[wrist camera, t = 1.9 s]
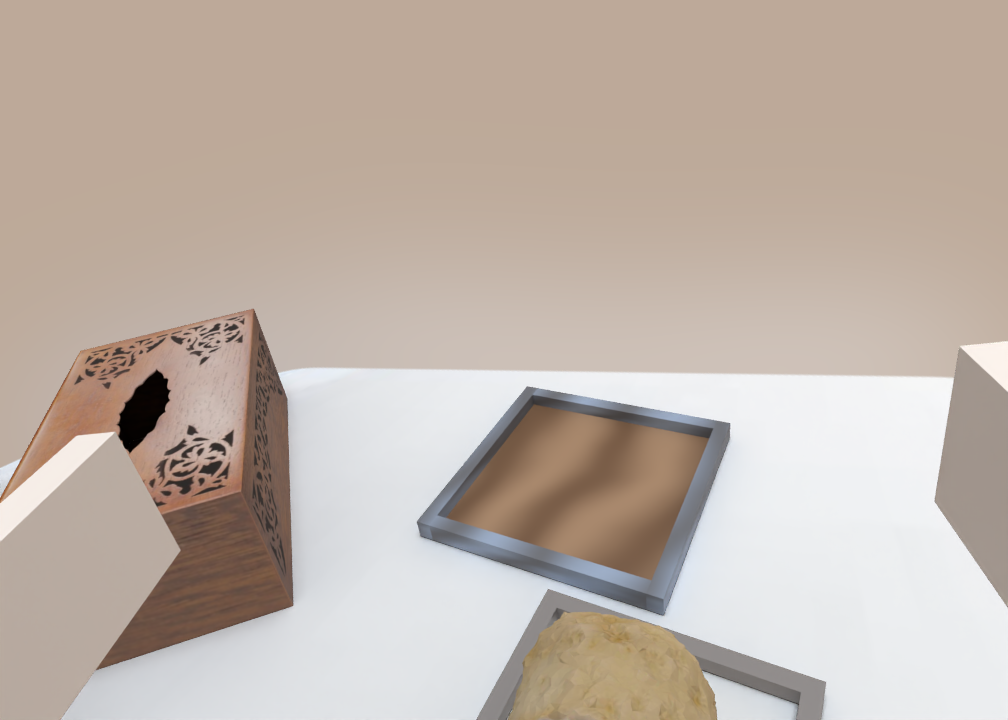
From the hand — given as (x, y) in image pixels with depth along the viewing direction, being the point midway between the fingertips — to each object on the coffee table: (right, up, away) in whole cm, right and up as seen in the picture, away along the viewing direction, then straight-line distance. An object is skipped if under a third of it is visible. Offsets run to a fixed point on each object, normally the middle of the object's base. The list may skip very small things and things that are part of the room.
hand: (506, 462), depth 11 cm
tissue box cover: (-24, -10, +41) cm, 49 cm away
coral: (+6, -18, +20) cm, 28 cm away
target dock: (+6, -7, +37) cm, 39 cm away
